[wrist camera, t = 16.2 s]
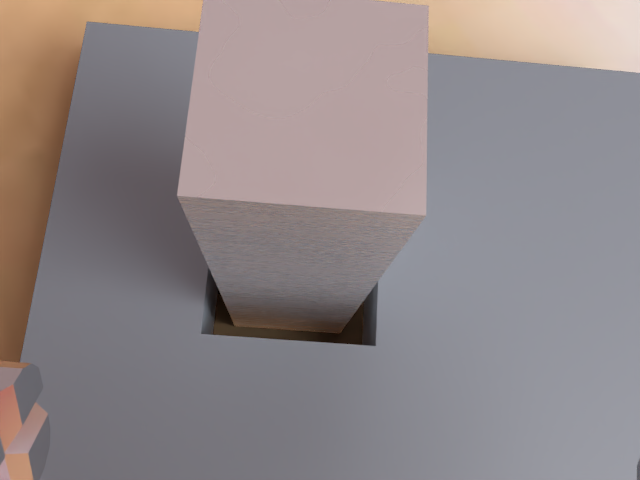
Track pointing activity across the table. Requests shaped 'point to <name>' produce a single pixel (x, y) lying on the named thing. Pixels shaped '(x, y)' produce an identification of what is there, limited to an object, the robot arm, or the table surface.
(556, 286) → the socket board
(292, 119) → the square bit
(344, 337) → the table surface
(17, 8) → the table surface
